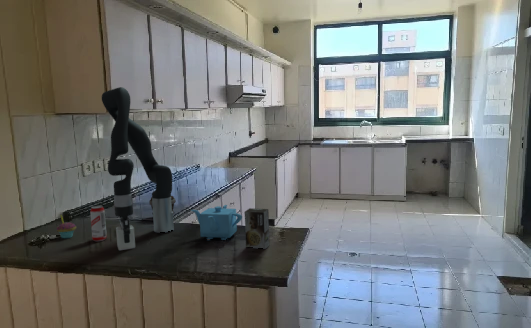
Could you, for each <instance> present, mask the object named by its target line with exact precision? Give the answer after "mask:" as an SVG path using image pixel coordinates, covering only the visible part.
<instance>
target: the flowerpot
mask: <svg viewBox="0 0 531 328" xmlns="http://www.w3.org/2000/svg"><path fill="white" fill-rule="evenodd" d="M148 202H149V205H150V206H151V207H150V208H151V210H152V211H153V204H152V196H151V197H150V199H149V201H148ZM175 203H176V198H175V197H174V196H173V195H171V206H172V212H173V215H174V213H175V212H174V207H175ZM152 215H153V212H152Z"/></svg>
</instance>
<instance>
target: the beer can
mask: <svg viewBox="0 0 531 328" xmlns="http://www.w3.org/2000/svg"><path fill="white" fill-rule="evenodd" d="M89 212H90V214H89V215H90V223H91V227H90V228H91V239H92V241H94V242H96V243H97V242H104V241H105V240H106V239H107V226H106V225H107V224H106V215H105V214H106V213H105V212H106V211H105V208H104V206H103V205H94V206H91V209H90V211H89Z"/></svg>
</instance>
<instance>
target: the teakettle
mask: <svg viewBox="0 0 531 328" xmlns="http://www.w3.org/2000/svg"><path fill="white" fill-rule="evenodd" d="M190 211H191V212H193V213H194V214H195V215H196V219H197V223H198V224H199V228H200V238H201V237H202V238H206V239H214V238H220V241H221V240H226V239H227V240H228V239H230V238H231V237H232V236H233V235H234V234H235V233H236V232H237V231H238V226H237V225H238V224H239V223H240V222H241V220H242V219H243V216H242V214H240V213H237V209H236V208H228V204H224V205H223V206H220V205H219V206H218V205H217V206H214V207H211V208H210V207H209V208H208V207H207V209H205V210H203V211H202V212H200V211H199V210H197V209H191V210H190Z"/></svg>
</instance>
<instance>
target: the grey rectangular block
mask: <svg viewBox="0 0 531 328" xmlns="http://www.w3.org/2000/svg"><path fill="white" fill-rule="evenodd" d="M125 231H128V230H125ZM115 232H116V243H117V244H116V246H117V249H118V251H123V250H131V249H136V240H135V227H134V226H133V225H132V224H130V234H129V236H130V242H129V243H125V242H124V234H123V230H122V228H121V227H120V226H116V227H115Z"/></svg>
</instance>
